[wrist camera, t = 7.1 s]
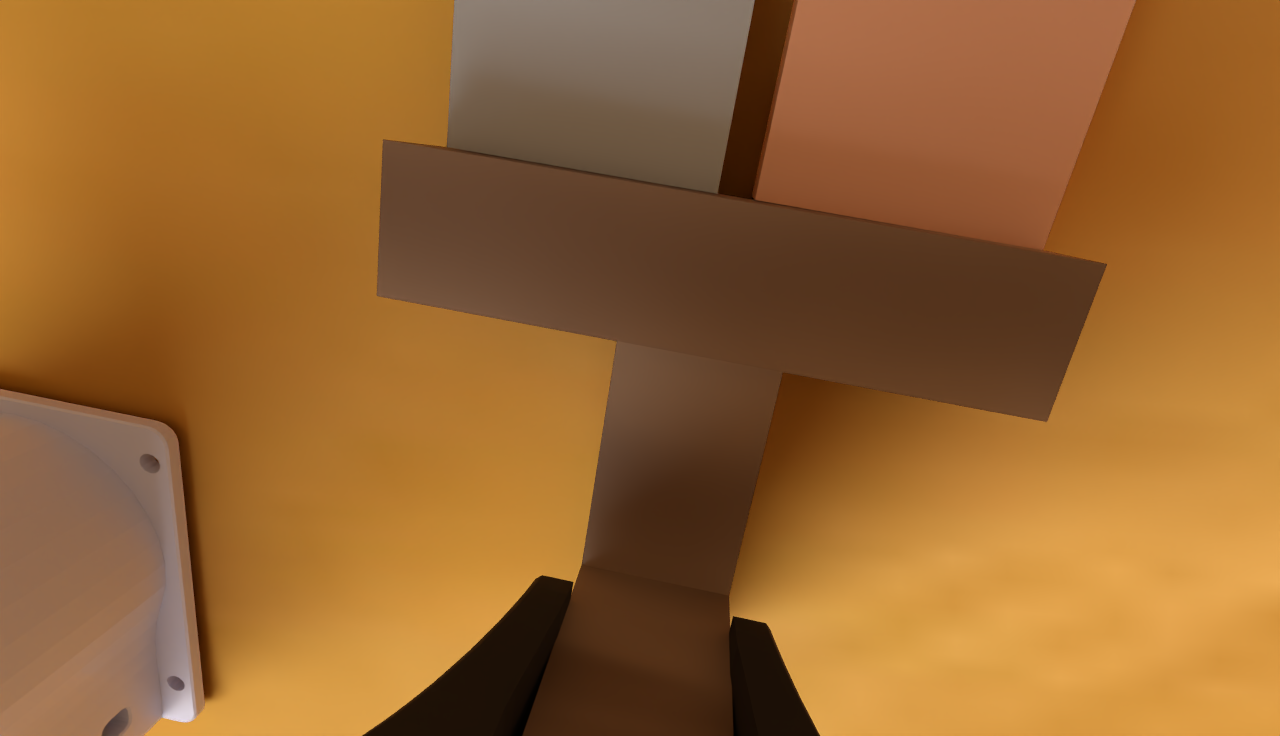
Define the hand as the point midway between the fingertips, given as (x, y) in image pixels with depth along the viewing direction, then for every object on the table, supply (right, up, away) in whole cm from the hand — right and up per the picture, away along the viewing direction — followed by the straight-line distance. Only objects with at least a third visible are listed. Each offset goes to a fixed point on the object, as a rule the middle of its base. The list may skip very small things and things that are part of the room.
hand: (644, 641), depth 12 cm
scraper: (+1, +4, +2) cm, 4 cm away
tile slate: (-1, +11, 0) cm, 11 cm away
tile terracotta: (+5, +10, 0) cm, 12 cm away
